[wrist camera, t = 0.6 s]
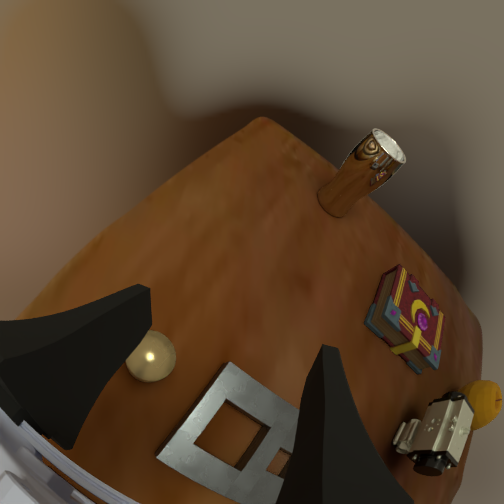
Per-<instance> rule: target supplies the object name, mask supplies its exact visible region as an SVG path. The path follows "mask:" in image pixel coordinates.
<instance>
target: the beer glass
mask: <svg viewBox="0 0 504 504" xmlns="http://www.w3.org/2000/svg"><path fill="white" fill-rule="evenodd" d="M405 162H406V157H405V155H404V153H403V151H402V150H401V148H400V147H399V145H398V144H397V143H396V142H395V141H394V140H393V139H392V138H391V137H390V136H389V135H387V134H386V133H385V132H383V131H381V130H379V129H376V128H375V129H373V130H372V131H371V132H370V133H369V134H368V135H367V136H366V137H364V138H363V139H362V140H361V141H360V142H359V143H358V144H357V145H356V146H355V148H354V149H353V150H352V151H351V152H350V154H349V155H348V157H347V158H346V160H345V161H344V163H343V164H342V166H341V168H340V169H339V171H338V173H337V174H336V176H335V177H334V178H333V179H332V180H331V181H330V182H329V183H328V184H326V185H325V186H323V187H322V188H321V189H320V190H319V191H318V200H319V203H320V204H321V206H322V207H323V209H324V210H325V211H326V212H327V213H329V214H330V215H332V216H334V217H343V216H344V215H345V214H346V213H347V212H348V211H349V209H350V208H351V206H352V205H353V204H354V203H355V202H357V201H358V200H359V199H361V198H362V197H364V196H366V195H368V194H369V193H371V192H373V191H374V190H376V189H377V188H379V187H380V186H382V185H383V184H384V183H385V182H387V180H389V179H390V178H391V177H392V176H393V175H394V174H395V173H396V172H397V171H398V170H399V168H400V167H401V166H402V165H403V164H404V163H405Z"/></svg>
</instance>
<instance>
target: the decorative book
mask: <svg viewBox="0 0 504 504" xmlns="http://www.w3.org/2000/svg"><path fill="white" fill-rule="evenodd" d="M418 284H419V281H418V280H417V279H416V278H415V277H414V276H413V275H412V274H411V275H409V274H408V273H407V271H406V270H405V269H404V268H403V267H402V266H401V265H400V264H398V265H397V266H395V267H393V268H392V269H390V270H388V271H387V272H385V273H383V276H382V279H381V282H380V285H379V288H378V291H377V294H376V297H375V299H374V302H373V304H371V307H370V309H369V312H368V314H367V317H366V319H365V322H364V324H365V325H366V326H367V327H368V328H369V329H371V330H372V331H373V332H374V333H375V334H376V335H377V336H378V337H379V338H382V339H383V340H385V341H386V342H387V343H388V344H389V345H390V346H391V349H390V350H391V351H392V352H393V353H395V354H396V355H397V354H399V355H400V356H401V357H402V358H403V359H404V360H405V361H406V362H407V364H408V365H409V366H410V367H411V368H412V369H413V370H414V371H415V372H416V373H417V374H421V372H422V369H424V368H428V367H431V368H432V369H433V370H437V369H438V365H439V360H440V354H441V350H440V348H441V342H442V336H443V330H444V323H445V316H444V315H443V314H442V312H441V311H440V310H439V309H438V308H439V305H438V304H437V303H436V301H435V300H434V299H430V298H429V297H428V295H427V294H426V293H425V292H424V291H423V290H422V288H421V287H420V286H419V285H418Z"/></svg>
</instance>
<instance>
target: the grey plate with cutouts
mask: <svg viewBox="0 0 504 504" xmlns="http://www.w3.org/2000/svg"><path fill="white" fill-rule="evenodd" d="M224 401H225V402H227V403H228V404H230V405H231V406H232V407H234V408H235V409H237V410H238V411H240V412H241V413H243V414H244V415H246V416H248V417H249V418H251V419H252V420H254V421H255V422H257V423H259V424H260V425H262V427H261V429H260V431H259V432H258V434H257V435H256V437H255V438H254V440H253V441H252V443H251V444H250V446H249V447H248V448H247V450H246V451H245V453H244V454H243V456H242V457H241V459H240V460H239V461H238V463H237V464H236V466H235V467H232V466H231V465H229V464H227V463H225V462H223V461H222V460H220V459H218V458H216V457H215V456H213V455H211V454H210V453H208V452H206V451H205V450H203V449H201V448H200V447H198V446H197V445H195V444H193V443H194V441H195V440H196V439H197V438H198V436H199V435H200V434H201V432H202V431H203V430H204V428H205V427H206V425H207V424H208V423H209V421H210V420H211V419H212V417H213V416H214V415H215V413H216V412H217V410H218V409H219V408H220V406H221V405H222V404H223V402H224ZM298 416H299V410H298V409H297V408H295V407H294V406H292V405H291V404H289V403H287V402H286V401H284V400H283V399H282V398H280V397H279V396H277V395H276V394H274V393H273V392H271V391H270V390H268V389H267V388H266V387H264V386H263V385H261V384H260V383H259V382H257V381H256V380H254V379H253V378H252V377H250V376H249V375H247V374H246V373H245V372H243V371H242V370H241V369H239V368H238V367H237V366H235V365H234V364H233V363H231V362H230V361H229V362H226V363H223V365H222V366H221V367H220V369H219V370H218V371H217V373H216V374H215V376H214V377H213V378H212V380H211V381H210V382H209V384H208V385H207V386H206V388H205V389H204V390H203V392H202V393H201V394H200V396H199V397H198V398H197V400H196V401H195V402H194V404H193V405H192V406H191V407H190V409H189V410H188V411H187V413H186V414H185V415H184V417H183V418H182V419H181V420H180V422H179V423H178V424H177V426H176V427H175V428H174V429H173V431H172V432H171V433H170V434H169V436H168V437H167V438H166V439H165V441H164V442H163V443H162V444H161V446H160V447H159V448H158V449H157V451H156V452H155V456H156V458H157V459H159V460H160V461H162V462H164V463H165V464H167V465H168V466H170V467H171V468H173V469H175V470H176V471H178V472H180V473H181V474H183V475H185V476H187V477H188V478H190V479H192V480H194V481H195V482H197V483H199V484H201V485H203V486H205V487H207V488H209V489H211V490H213V491H215V492H217V493H219V494H221V495H223V496H225V497H227V498H229V499H232V500H234V501H236V502H238V503H241V504H275V503H276V501H277V498H278V495H279V493H280V490H281V487H282V484H283V481H284V478H285V475H286V472H287V469H288V466H289V463H290V459H291V457H290V459H289V460H288V462H287V463H286V465H285V467H284V468H283V470H282V471H281V473H280V474H279V476H276V475H274V474H272V473H270V472H268V471H266V468H267V467H268V465H269V464H270V462H271V461H272V459H273V458H274V456H275V455H276V453H277V451H278V450H279V449H280V450H282V451H284V452H286V453H288V454H290V455H291V456H292V452H293V447H294V441H295V435H296V429H297V423H298Z"/></svg>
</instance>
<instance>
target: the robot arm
mask: <svg viewBox="0 0 504 504" xmlns="http://www.w3.org/2000/svg"><path fill="white" fill-rule="evenodd" d="M151 326H152V315H151V297H150V288H148V287H145V286H143V285H140V284H136V285H134V286H131V287H128V288H126V289H123V290H121V291H118V292H116V293H114V294H111V295H109V296H106V297H104V298H101V299H99V300H96V301H94V302H91V303H88V304H86V305H83V306H80V307H77V308H75V309H71V310H68V311H65V312H61V313H57V314H54V315H49V316H44V317H38V318H33V319H25V320H13V321H0V504H96V503H94V502H93V501H91V500H90V499H88V498H87V497H86V496H84V495H83V494H82V493H80V492H79V491H78V490H76V489H75V488H74V487H73V486H72V485H70V484H69V483H68V482H66V481H65V480H64V479H63V478H61V477H60V476H59V475H58V474H56V473H55V472H54V471H53V470H52V469H51V468H49V467H48V466H47V465H45V464H44V463H43V461H42V455H43V456H44V457H45V458H46V459H47V460H48V461H50V462H51V463H52V464H53V465H54V466H56V467H57V468H58V469H59V470H61V471H62V472H63V473H64V474H66V475H67V476H68V477H70V478H71V479H72V480H74V481H75V482H76V483H78V484H79V485H81V486H82V487H83V488H85V489H86V490H88V491H89V492H91V493H92V494H94V495H95V496H97V497H98V498H100V499H102V500H103V501H105V502H106V503H108V504H140V503H138V502H136V501H134V500H132V499H130V498H128V497H127V496H125V495H123V494H121V493H120V492H118V491H116V490H114V489H113V488H111V487H109V486H108V485H106V484H105V483H103V482H101V481H100V480H98V479H97V478H95V477H94V476H92V475H91V474H89V473H88V472H86V471H85V470H83V469H82V468H81V467H79V466H78V465H76V464H75V463H74V462H72V461H71V460H70V459H68V458H67V457H66V456H65V455H63V454H62V453H61V452H60V451H58V450H57V449H56V448H55V447H53V446H52V445H51V444H50V443H49V442H47V441H46V440H45V439H44V438H43V437H42V436H41V435H42V434H43V435H44V436H45V437H47V438H48V439H50V438H51V439H52V440H53V441H55V442H56V443H57V444H58V445H59V446H61V447H62V448H63V449H65V450H70V449H73V446H74V443H75V441H76V439H77V436H78V434H79V432H80V429H81V427H82V425H83V423H84V421H85V419H86V417H87V415H88V413H89V412H90V410H91V408H92V406H93V405H94V403H95V401H96V399H97V398H98V396H99V395H100V393H101V391H102V390H103V388H104V387H105V385H106V384H107V382H108V381H109V380H110V378H111V377H112V376H113V375H114V373H115V372H116V371H117V370H118V369H119V368H120V366H121V365H122V364H123V363H124V362H125V361H126V359H127V358H128V357H129V356H130V355H131V354H132V352H133V351H134V350H135V349H136V348H137V346H138V345H139V344H140V343H141V341H142V340H143V338H144V337H145V335H146V334H147V332H148V330H149V329H150V327H151ZM41 454H42V455H41ZM275 504H414V501H413V500H412V498H411V497H410V496H409V495H408V494H407V493H406V492H405V490H404V489H403V488H402V487H401V486H400V485H399V483H398V482H397V481H396V479H395V478H394V477H393V475H392V474H391V473H390V471H389V470H388V468H387V467H386V465H385V463H384V462H383V460H382V459H381V457H380V455H379V454H378V452H377V451H376V449H375V447H374V445H373V443H372V441H371V439H370V438H369V435H368V433H367V431H366V429H365V427H364V425H363V423H362V420H361V418H360V416H359V413H358V411H357V408H356V405H355V403H354V400H353V397H352V394H351V391H350V388H349V385H348V382H347V379H346V375H345V372H344V368H343V364H342V360H341V356H340V352H339V350H338V348H335V347H331V346H327V345H324V344H322V346H321V349H320V351H319V353H318V355H317V357H316V359H315V361H314V364H313V366H312V368H311V370H310V372H309V374H308V376H307V378H306V382H305V386H304V390H303V394H302V398H301V403H300V410H299V416H298V423H297V429H296V435H295V441H294V447H293V452H292V456H291V459H290V463H289V466H288V469H287V472H286V475H285V478H284V481H283V484H282V487H281V490H280V493H279V495H278V498H277V501H276V503H275Z"/></svg>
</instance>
